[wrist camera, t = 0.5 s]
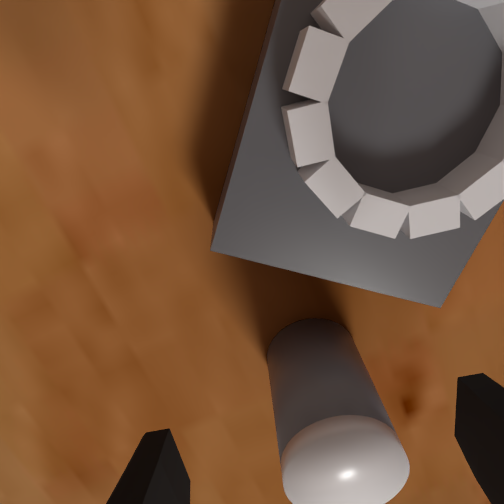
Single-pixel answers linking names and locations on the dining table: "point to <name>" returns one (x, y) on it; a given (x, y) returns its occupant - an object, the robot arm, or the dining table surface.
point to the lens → (331, 419)
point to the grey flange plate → (370, 144)
